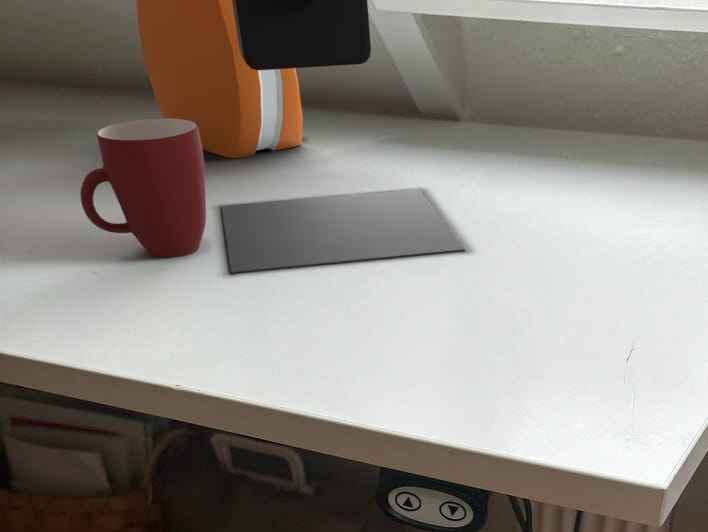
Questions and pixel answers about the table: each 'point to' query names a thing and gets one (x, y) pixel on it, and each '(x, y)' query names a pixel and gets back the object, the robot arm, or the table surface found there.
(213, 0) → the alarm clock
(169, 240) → the mug
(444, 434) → the table surface
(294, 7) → the electronic device
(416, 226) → the desk mat
